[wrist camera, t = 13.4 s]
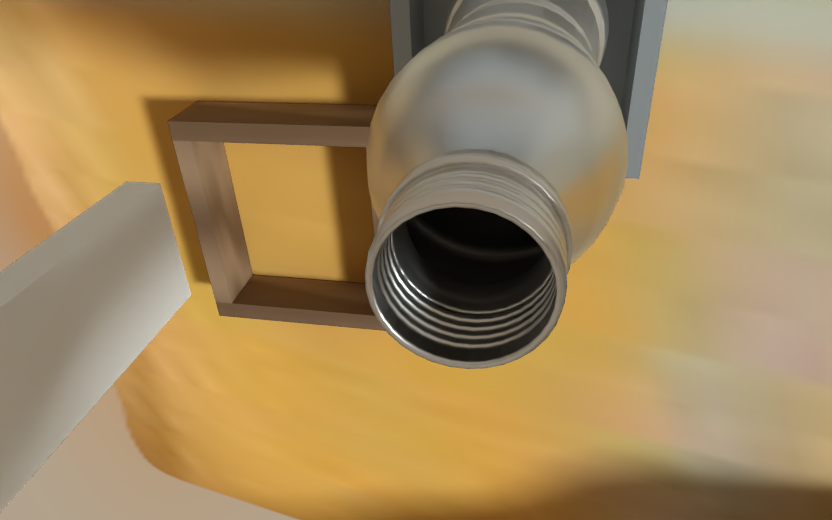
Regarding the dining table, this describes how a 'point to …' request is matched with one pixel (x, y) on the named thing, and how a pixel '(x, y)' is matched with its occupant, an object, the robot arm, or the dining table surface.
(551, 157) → the silver metal bottle
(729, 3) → the dining table surface
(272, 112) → the walnut collar
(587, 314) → the dining table surface
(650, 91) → the grey tray
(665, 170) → the dining table surface
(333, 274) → the dining table surface
